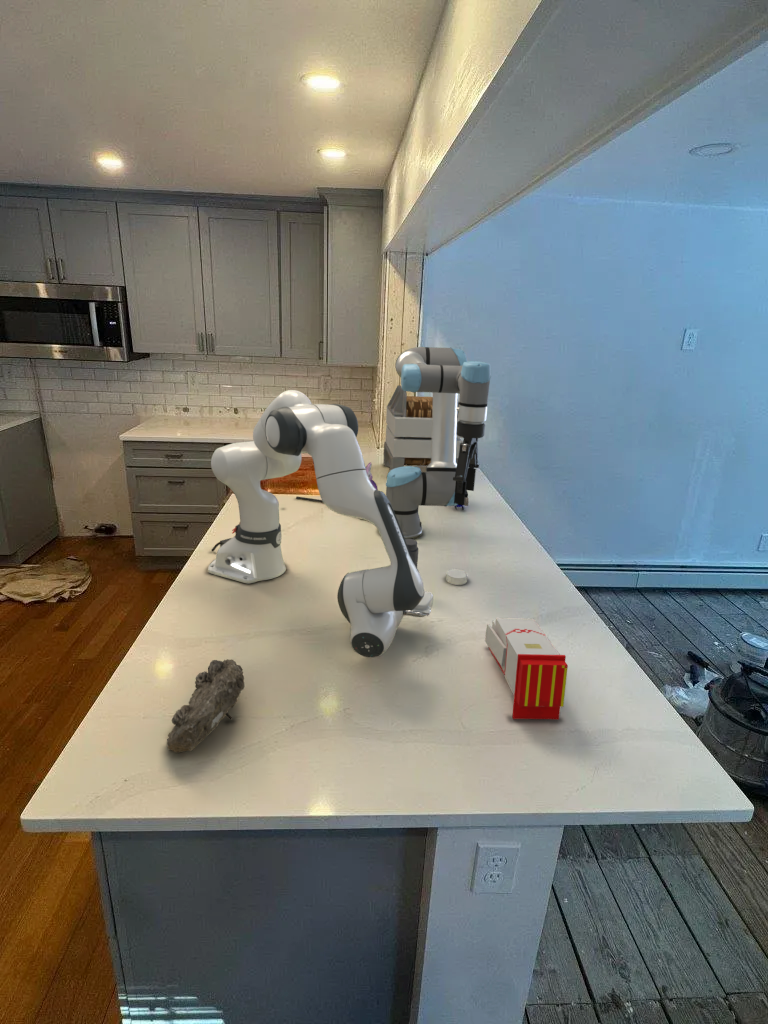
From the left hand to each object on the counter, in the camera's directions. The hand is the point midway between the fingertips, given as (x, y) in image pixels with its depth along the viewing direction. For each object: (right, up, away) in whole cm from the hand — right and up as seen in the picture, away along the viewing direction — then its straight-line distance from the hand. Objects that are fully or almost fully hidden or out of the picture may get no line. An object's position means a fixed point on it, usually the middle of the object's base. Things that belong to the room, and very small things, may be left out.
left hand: (397, 583), depth 145 cm
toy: (+26, -18, -21) cm, 38 cm away
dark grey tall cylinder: (+3, -4, +14) cm, 15 cm away
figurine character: (+27, +21, +86) cm, 93 cm away
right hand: (+19, +23, +14) cm, 33 cm away
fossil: (-36, -21, -37) cm, 56 cm away
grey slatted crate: (+14, +37, +130) cm, 136 cm away
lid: (+18, 0, +22) cm, 28 cm away
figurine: (-10, +24, +90) cm, 94 cm away
